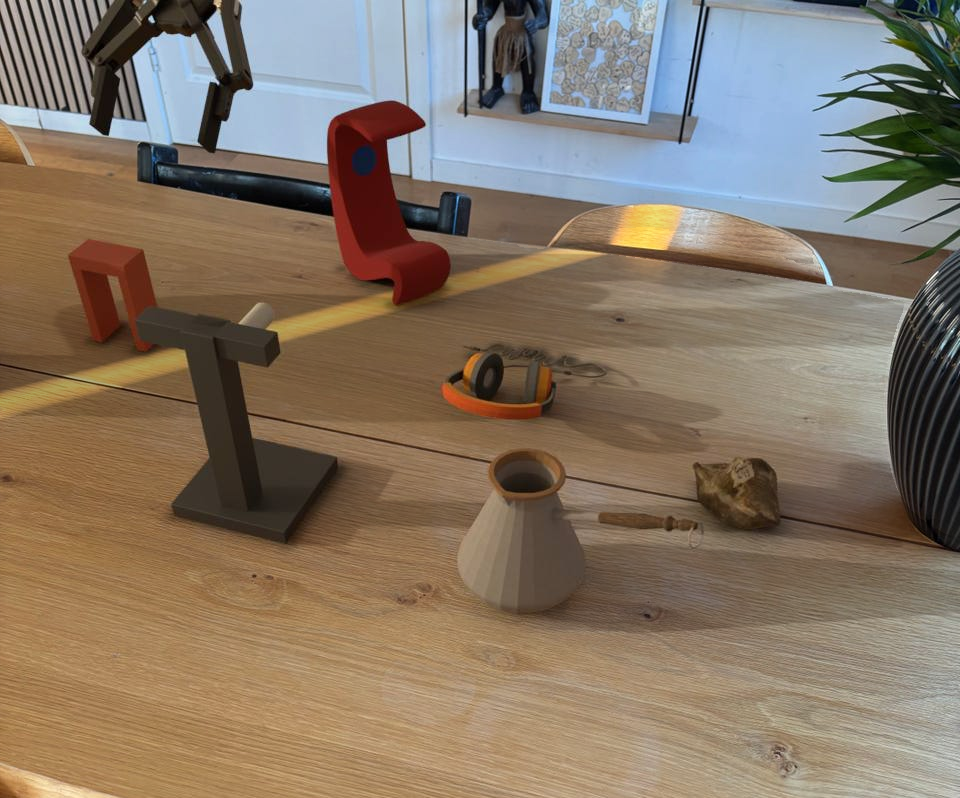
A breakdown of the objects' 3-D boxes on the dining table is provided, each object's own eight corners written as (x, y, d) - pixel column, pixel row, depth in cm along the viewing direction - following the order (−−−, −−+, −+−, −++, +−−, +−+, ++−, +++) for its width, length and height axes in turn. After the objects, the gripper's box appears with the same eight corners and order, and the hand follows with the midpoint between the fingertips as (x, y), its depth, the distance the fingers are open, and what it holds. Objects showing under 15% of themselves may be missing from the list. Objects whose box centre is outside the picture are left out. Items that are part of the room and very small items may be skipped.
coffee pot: (431, 593, 91) (427, 460, 80) (503, 524, 98) (508, 392, 87) (639, 702, 83) (667, 571, 72) (702, 619, 90) (737, 486, 79)
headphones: (616, 343, 114) (565, 403, 99) (608, 388, 117) (557, 453, 102) (477, 313, 118) (407, 366, 103) (473, 358, 121) (404, 415, 106)
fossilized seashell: (669, 468, 100) (713, 546, 95) (716, 420, 96) (764, 498, 91) (717, 482, 105) (761, 557, 100) (764, 437, 101) (812, 512, 96)
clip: (93, 340, 118) (67, 255, 110) (112, 323, 121) (88, 238, 113) (146, 352, 117) (123, 266, 109) (164, 334, 119) (143, 249, 111)
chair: (336, 265, 131) (320, 100, 116) (382, 248, 134) (373, 85, 119) (404, 313, 123) (397, 143, 108) (452, 294, 126) (451, 126, 111)
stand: (173, 516, 98) (122, 330, 83) (235, 441, 106) (198, 259, 91) (286, 544, 95) (254, 358, 81) (340, 465, 103) (320, 283, 88)
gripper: (308, -22, 113) (266, 169, 115) (112, -46, 118) (75, 138, 120) (280, -66, 106) (236, 139, 107) (73, -89, 111) (34, 107, 112)
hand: (151, 139), depth 114 cm, fingers open, 13 cm apart
